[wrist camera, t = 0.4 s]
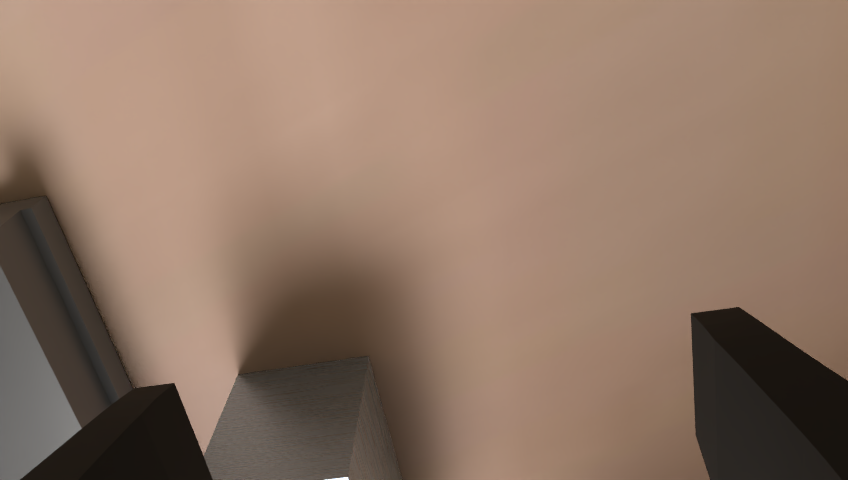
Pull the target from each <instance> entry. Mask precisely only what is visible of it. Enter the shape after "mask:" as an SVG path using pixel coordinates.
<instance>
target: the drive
mask: <svg viewBox="0 0 848 480" xmlns="http://www.w3.org/2000/svg"><path fill="white" fill-rule="evenodd" d="M204 459H205V461H206V464H207V466H208V469H209V471H210V474H211V476H212V479H213V480H403V479H402V475H401V472H400V468H399V465H398V461H397V457H396V454H395V450H394V446H393V443H392V439H391V435H390V432H389V428H388V424H387V421H386V417H385V414H384V410H383V406H382V403H381V399H380V395H379V392H378V388H377V384H376V381H375V377H374V373H373V370H372V366H371V363H370V359H369V356H364V357H357V358H350V359H344V360H337V361H330V362H323V363H316V364H309V365H302V366H295V367H288V368H281V369H274V370H267V371H260V372H253V373H246V374H239V375H238V376H237V378H236V381H235V383H234V385H233V388H232V390H231V393H230V395H229V397H228V400H227V402H226V404H225V407H224V409H223V412H222V414H221V416H220V419H219V421H218V423H217V426H216V428H215V431H214V433H213V435H212V438H211V440H210V442H209V445H208V447H207V450H206V452H205V454H204Z"/></svg>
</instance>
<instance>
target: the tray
mask: <svg viewBox="0 0 848 480" xmlns="http://www.w3.org/2000/svg"><path fill="white" fill-rule="evenodd" d="M131 390H133V388H132V386H131V384H130V382H129V379H128V377H127V375H126V373H125V371H124V368H123V366H122V364H121V362H120V359H119V357H118V355H117V353H116V350H115V348H114V346H113V344H112V342H111V339H110V337H109V335H108V333H107V330H106V328H105V326H104V324H103V321H102V319H101V317H100V315H99V313H98V310H97V308H96V306H95V304H94V301H93V299H92V297H91V295H90V293H89V290H88V288H87V286H86V284H85V281H84V279H83V277H82V275H81V272H80V270H79V268H78V266H77V264H76V261H75V259H74V257H73V255H72V252H71V250H70V248H69V246H68V243H67V241H66V239H65V237H64V235H63V232H62V230H61V228H60V226H59V223H58V221H57V219H56V217H55V215H54V212H53V210H52V208H51V206H50V203H49V201H48V199H47V197H46V196H42V197H36V198H31V199H25V200H19V201H14V202H8V203H2V204H0V480H20V479H21V478H23V477H24V476H25V475H26V474H27V473H29V472H30V471H31V470H32V469H34V468H35V467H36V466H37V465H38V464H40V463H41V462H42V461H43V460H44V459H46V458H47V457H48V456H49V455H50V454H52V453H53V452H54V451H55V450H57V449H58V448H59V447H60V446H61V445H63V444H64V443H65V442H66V441H67V440H69V439H70V438H71V437H72V436H73V435H75V434H76V433H77V432H78V431H79V430H81V429H82V428H83V427H84V426H86V425H87V424H88V423H89V422H90V421H92V420H93V419H94V418H95V417H97V416H98V415H99V414H100V413H102V412H103V411H104V410H105V409H107V408H108V407H109V406H110V405H112V404H113V403H114V402H116V401H117V400H118V399H120V398H121V397H123V396H124V395H125V394H127V393H128V392H130V391H131Z"/></svg>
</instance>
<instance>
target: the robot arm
mask: <svg viewBox="0 0 848 480" xmlns="http://www.w3.org/2000/svg"><path fill="white" fill-rule="evenodd" d="M691 327H692V352H693V377H694V403H695V428H696V437H697V440H698V443H699V446H700V450H701V453H702V456H703V459H704V462H705V465H706V468H707V471H708V474H709V477H710V480H848V381H847V380H846V379H844V378H843V377H841V376H839V375H838V374H836V373H835V372H833V371H832V370H830V369H829V368H827V367H826V366H824V365H823V364H821V363H820V362H818V361H817V360H815V359H814V358H812V357H811V356H809V355H808V354H806V353H805V352H803V351H802V350H801V349H799V348H798V347H796V346H795V345H793V344H792V343H790V342H789V341H787V340H786V339H785V338H783V337H782V336H780V335H779V334H777V333H776V332H774V331H773V330H772V329H770V328H769V327H767V326H766V325H764V324H763V323H762V322H760V321H759V320H757V319H756V318H754V317H753V316H751V315H750V314H748V313H747V312H745V311H744V310H742V309H741V308H739V307H736V308H729V309H721V310H714V311H706V312H699V313H691ZM20 480H213V479H212V476H211V474H210V471H209V469H208V466H207V464H206V461H205V459H204V456H203V454H202V451H201V449H200V446H199V444H198V441H197V439H196V436H195V434H194V431H193V429H192V426H191V424H190V421H189V419H188V416H187V414H186V411H185V409H184V406H183V404H182V401H181V399H180V396H179V394H178V391H177V389H176V386H175V384H174V383H171V384H163V385H156V386H148V387H141V388H134V389H133V390H131V391H130V392H128V393H127V394H125V395H124V396H123V397H121V398H120V399H118V400H117V401H116V402H114V403H113V404H112V405H110V406H109V407H108V408H107V409H105V410H104V411H103V412H102V413H100V414H99V415H98V416H97V417H95V418H94V419H93V420H92V421H90V422H89V423H88V424H87V425H86V426H84V427H83V428H82V429H81V430H79V431H78V432H77V433H76V434H75V435H73V436H72V437H71V438H70V439H69V440H67V441H66V442H65V443H64V444H63V445H61V446H60V447H59V448H58V449H57V450H55V451H54V452H53V453H52V454H50V455H49V456H48V457H47V458H46V459H44V460H43V461H42V462H41V463H40V464H38V465H37V466H36V467H35V468H34V469H32V470H31V471H30V472H29V473H27V474H26V475H25V476H24V477H23V478H21V479H20Z"/></svg>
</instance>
